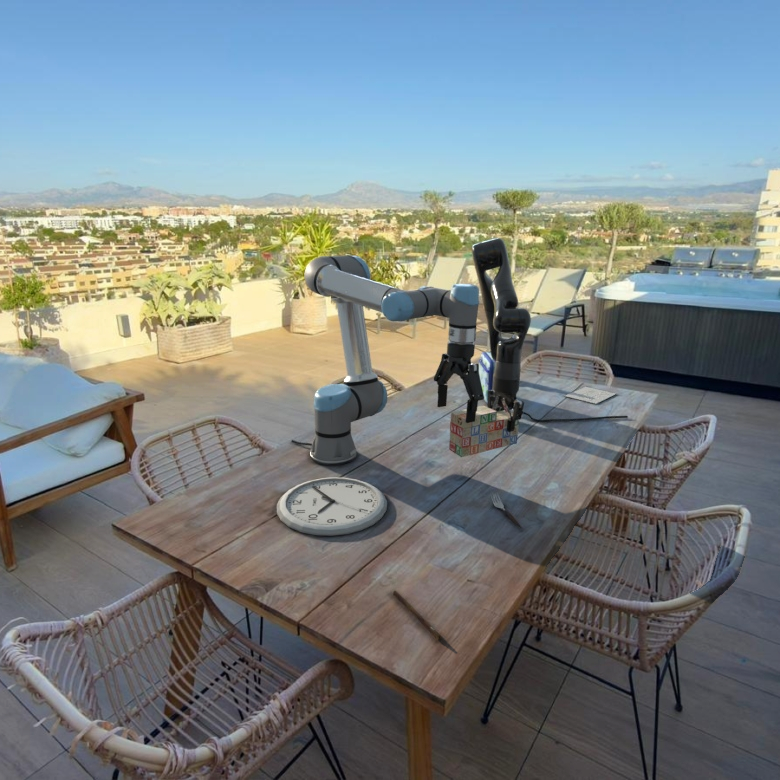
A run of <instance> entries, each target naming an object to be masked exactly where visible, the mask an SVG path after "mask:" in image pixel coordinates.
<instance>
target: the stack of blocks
mask: <svg viewBox="0 0 780 780" xmlns="http://www.w3.org/2000/svg"><path fill="white" fill-rule="evenodd" d="M466 412H467V408H464V409H460V410H455V411H454V410H453V411H451V413H450V423H449V447H448V449H449V451H450V452H452V453H454V454H456V455H457V456H459V457H460V458H465V457H469V456H473V455H477V454H480V453H482V454H483V453H485V452H488V451H492V450H496V449H499V448H504V447H509V446H513V445H517V444H518V437H519V435H518V434H519V421H520V420H516V421H515V429H514V431H512V432H508V431H507V422H508V416H507V413H505V410H504V411H499V412H497V411H495V410H493V409H490V408H488V406H486V405H478V406H477V412H476V417H475V422H470V423H466ZM511 416H513V415H512V413H511ZM517 416H518V415H517Z"/></svg>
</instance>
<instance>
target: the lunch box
mask: <svg viewBox="0 0 780 780" xmlns="http://www.w3.org/2000/svg"><path fill="white" fill-rule="evenodd" d="M478 364H479V375H480V380H481V385H482V390H483V394H484V399H483V400H484V402H485V404H487V405H488V390H492V385H493V374H494V372H495V365H496V361H494V360H493V359H492V356H491V352H490V351H482V352H481V354H480V358H479V360H478Z"/></svg>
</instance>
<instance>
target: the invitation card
mask: <svg viewBox="0 0 780 780" xmlns="http://www.w3.org/2000/svg"><path fill="white" fill-rule="evenodd" d="M615 395H616V392H611V391H606V390H602V389H597V388H593V387H588V386H583V387H581V388H579V389H576V390H573V391H572V392H570V393H568V394H564V397H566V398H570V399H574V400H579V401H583V402H587V403H590V404H593V405H597V404H599V403H601V402H603V401H605V400H607V399H609V398H612V397H613V396H615Z"/></svg>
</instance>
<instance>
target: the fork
mask: <svg viewBox="0 0 780 780" xmlns="http://www.w3.org/2000/svg"><path fill="white" fill-rule="evenodd" d="M496 494H497V495H496ZM489 495H490V497H491V501H492V503H493V506H494V507H495V508H498V509H501V510H503V512H504V513H505V515H506V516H507V517H508V519H509V520H511V521H512V522H513V523H514V524H515V525H517V527H519V528H520V529H523V527H522V526H521V524H520V523H519V521H518V520H517V519H516V518H515V516H514V515H513V514H511V513H510V512H509V511H508V510H506V509H505V508H504V503H503V502H502V500H501V498H500V495H499V493H498V492H497V493H494V494H491V493H490V494H489Z"/></svg>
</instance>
